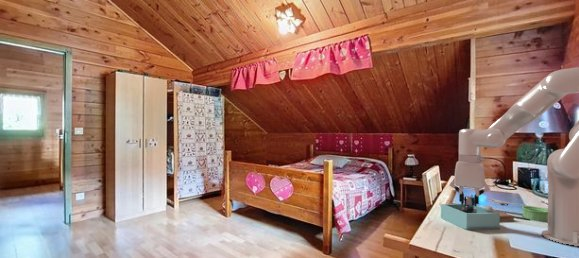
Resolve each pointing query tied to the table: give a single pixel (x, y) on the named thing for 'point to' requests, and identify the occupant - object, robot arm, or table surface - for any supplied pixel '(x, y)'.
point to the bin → (470, 217)
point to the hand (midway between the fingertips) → (468, 204)
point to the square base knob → (469, 205)
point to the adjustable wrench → (506, 202)
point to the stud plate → (502, 215)
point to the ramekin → (535, 213)
